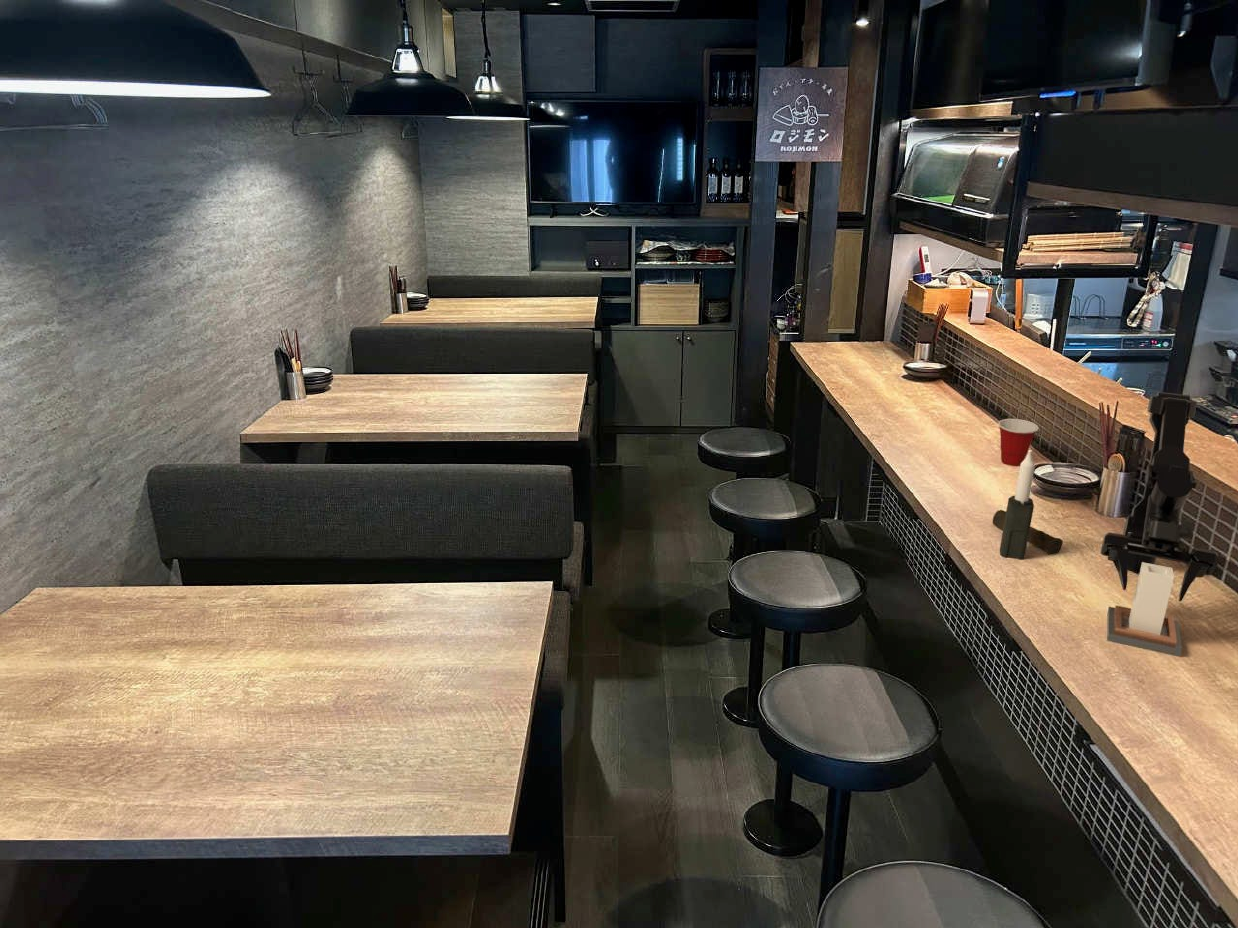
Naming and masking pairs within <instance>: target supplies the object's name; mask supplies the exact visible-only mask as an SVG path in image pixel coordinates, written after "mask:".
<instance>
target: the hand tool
mask: <svg viewBox="0 0 1238 928" xmlns="http://www.w3.org/2000/svg"><path fill="white" fill-rule="evenodd" d="M1005 516H1006V510H1003V509H999V510H997V511H996V512H995V513H994V515H993V518H992V524H993V526H995V527H996V528H997V529H999V530H1000V531H1002V532H1003V528H1004V522H1005ZM1027 542H1029V543H1031V544H1032V545H1035V546H1037V547H1038V548H1040V549H1042V550H1044V551H1047V552H1048V555H1050V556H1052V555H1056V554H1058V553H1060V552H1061V549H1062V546H1063V544H1064V541H1063V540H1062V539H1061V538H1059V537H1054V536H1052V535H1050V534H1049V533H1046V532H1044V531H1043V530H1039V529H1036V528H1035V527H1033V526H1030V530H1029V536H1028V541H1027Z"/></svg>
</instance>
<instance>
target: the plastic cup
mask: <svg viewBox="0 0 1238 928" xmlns="http://www.w3.org/2000/svg"><path fill="white" fill-rule="evenodd" d="M997 424H998V426H999V432H1000V433H999V434H1000V460H1001V463H1002V464H1004V465H1007V466H1010V467H1011V466H1012V467H1020V465H1021V463H1022V462H1023V461H1024V460H1025V458H1026V456H1027V454H1028V450H1030V447H1031V444H1032V440H1033V439H1034V436H1035V434H1036V432H1037V431H1038V430H1039V428H1040V427H1039V426H1038V424H1036V423H1034V422H1032V421H1029V420H1025V419H1020V418H1004V419H1002V420H999V421H998V423H997Z"/></svg>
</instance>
